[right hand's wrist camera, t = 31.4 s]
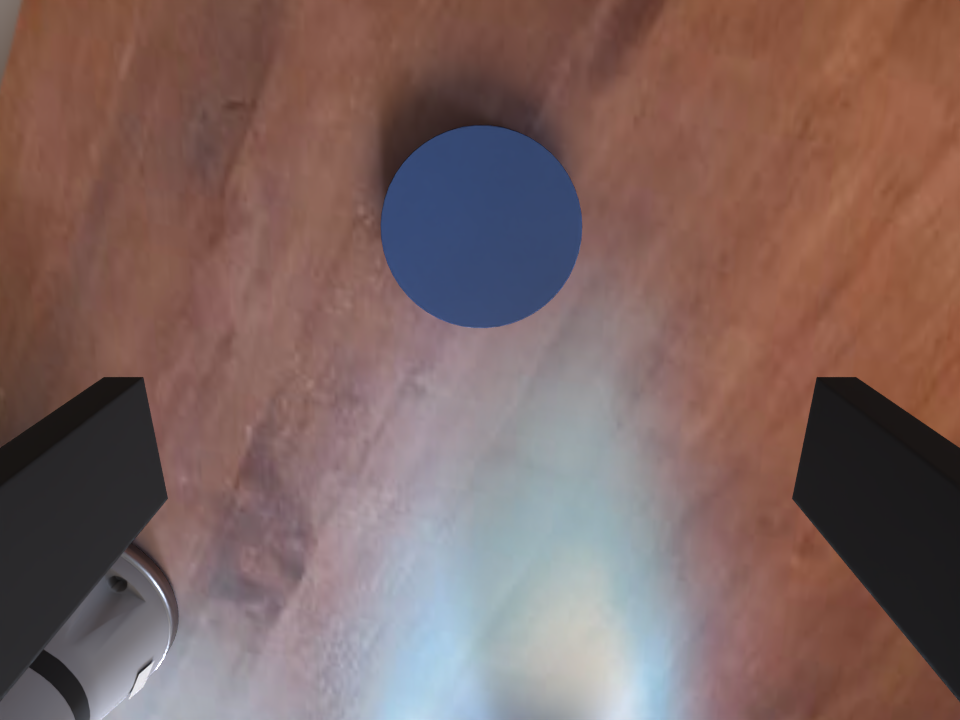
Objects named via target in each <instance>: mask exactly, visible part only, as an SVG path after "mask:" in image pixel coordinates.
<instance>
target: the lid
mask: <svg viewBox="0 0 960 720" xmlns="http://www.w3.org/2000/svg"><path fill="white" fill-rule="evenodd" d="M581 237H582V216H581V209H580V204H579V199H578V197H577V194H576V191H575V188H574V186H573V184H572V182H571V180H570V178H569V176H568V174H567V172H566V171H565V169H564V168H563V167H562V165H561V164H560V163H559V161H558V160H557V159H556V158H555V157H554V156H553V155H552V154H551V153H550V152H549V151H548V150H547V149H546V148H544V147H543V146H542V145H541V144H539V143H538V142H536V141H534V140H533V139H531V138H530V137H528V136H526V135H523V134H521V133H519V132H517V131H514V130H510V129H507V128H504V127H499V126H492V125H471V126H464V127H460V128H456V129H452V130H449V131H446V132H444V133H442V134H440V135H437V136H435V137H433V138H432V139H430V140H429V141H427V142H425V143H424V144H422V145H421V146H420V147H419V148H417V149H416V150H415V151H414V152H413V153H412V154H411V155H410V156H409V157H408V158H407V159H406V160H405V161H404V162H403V164H402V165H401V167H400V168H399V169H398V171H397V172H396V174H395V176H394V178H393V179H392V181H391V183H390V185H389V188H388V191H387V193H386V196H385V199H384V204H383V208H382V215H381V239H382V245H383V250H384V254H385V257H386V260H387V263H388V266H389V268H390V270H391V272H392V274H393V276H394V278H395V279H396V281H397V282H398V284H399V286H400V287H401V288H402V289H403V291H404V292H405V293H406V294H407V296H408V297H409V298H410V299H412V300H413V301H414V302H415V303H416V304H417V305H418V306H419V307H421V308H422V309H424V310H425V311H426V312H428V313H429V314H431V315H433V316H435V317H437V318H439V319H441V320H444V321H446V322H448V323H452V324H455V325H459V326H464V327H471V328H491V327H499V326H503V325H507V324H511V323H514V322H517V321H519V320H522V319H524V318H526V317H528V316H530V315H532V314H533V313H535V312H536V311H538V310H539V309H541V308H542V307H543V306H545V305H546V304H547V303H548V302H549V301H550V300H551V299H552V298H553V297H554V296H555V295H556V294H557V293H558V292H559V290H560V289H561V288H562V287H563V285H564V284H565V282H566V281H567V279H568V277H569V276H570V274H571V272H572V269H573V267H574V265H575V262H576V259H577V256H578V253H579V249H580V244H581Z"/></svg>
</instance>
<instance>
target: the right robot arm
mask: <svg viewBox="0 0 960 720" xmlns="http://www.w3.org/2000/svg"><path fill="white" fill-rule="evenodd" d="M167 499H168V497H167V492H166V487H165V482H164V478H163V473H162V468H161V463H160V458H159V453H158V448H157V443H156V438H155V433H154V428H153V423H152V418H151V413H150V408H149V403H148V399H147V394H146V389H145V384H144V379H143V377H104V378H102V379H101V380H99V381H98V382H96V383H95V384H93V385H92V386H90V387H89V388H87V389H86V390H84V391H83V392H82V393H80V394H79V395H77V396H76V397H74V398H73V399H71V400H70V401H68V402H67V403H65V404H64V405H63V406H61V407H60V408H58V409H57V410H55V411H54V412H52V413H51V414H49V415H48V416H46V417H45V418H44V419H42V420H41V421H39V422H38V423H36V424H35V425H33V426H32V427H30V428H29V429H27V430H26V431H25V432H23V433H22V434H20V435H19V436H17V437H16V438H14V439H13V440H11V441H10V442H8V443H7V444H6V445H4V446H3V447H1V448H0V720H101V719H102V718H103V717H104V716H105V715H107V714H108V713H109V712H110V711H111V710H112V709H114V708H115V707H116V706H117V705H118V704H119V703H120V702H121V701H122V700H124V699H125V698H126V697H127V696H128V695H129V694H130V693H131V692H132V693H131V695H130V697H129V699H130V698H131V697H132V696H134V695H135V694H136V693H137V692H138V691H139V690H140V689H141V688H142V687H144V685H145V682H146V680H147V679H148V678H149V677H150V676H151V674H152V673H153V672H154V671H155V670H156V669H157V667H158V666H159V665H160V663H161V662H162V660H163V659H164V657H165V655H166V654H167V652H168V650H169V648H170V647H171V645H172V643H173V641H174V639H175V636H176V632H177V628H178V607H177V603H176V599H175V596H174V593H173V590H172V588H171V586H170V584H169V582H168V581H167V579H166V577H165V576H164V574H163V573H162V572H161V570H160V569H159V568H158V567H157V565H156V564H155V563H154V562H153V561H152V560H151V559H150V558H149V557H148V556H147V555H146V554H145V553H143V552H142V551H141V550H140V549H138V548H137V547H136V546H134V545H133V544H131V543H132V541H133V540H134V539H135V538H136V537H137V535H138V534H139V533H140V532H141V531H142V529H143V528H144V527H145V526H146V524H147V523H148V522H149V521H150V520H151V518H152V517H153V516H154V515H155V514H156V512H157V511H158V510H159V509H160V508H161V506H162V505H163V504H164V503H165V501H166V500H167ZM792 499H793V500H794V501H795V503H796V504H797V505H798V506H799V508H800V509H801V510H802V511H803V512H804V514H805V515H806V516H807V517H808V518H809V520H810V521H811V522H812V523H813V524H814V526H815V527H816V528H817V529H818V531H819V532H820V533H821V534H822V535H823V537H824V538H825V539H826V540H827V541H828V543H829V544H830V545H831V546H832V548H833V549H834V550H835V551H836V552H837V554H838V555H839V556H840V557H841V558H842V560H843V561H844V562H845V563H846V565H847V566H848V567H849V568H850V569H851V571H852V572H853V573H854V574H855V575H856V577H857V578H858V579H859V580H860V581H861V583H862V584H863V585H864V586H865V588H866V589H867V590H868V591H869V592H870V594H871V595H872V596H873V597H874V598H875V600H876V601H877V602H878V603H879V605H880V606H881V607H882V608H883V609H884V611H885V612H886V613H887V614H888V615H889V617H890V618H891V619H892V620H893V622H894V623H895V624H896V625H897V626H898V628H899V629H900V630H901V631H902V632H903V634H904V635H905V636H906V637H907V638H908V640H909V641H910V642H911V643H912V645H913V646H914V647H915V648H916V649H917V651H918V652H919V653H920V654H921V655H922V657H923V658H924V659H925V660H926V662H927V663H928V664H929V665H930V666H931V668H932V669H933V670H934V671H935V672H936V674H937V675H938V676H939V677H940V678H941V680H942V681H943V682H944V683H945V685H946V686H947V687H948V688H949V689H950V691H951V692H952V693H953V694H954V695H955V697H956V698H957V699H958V700H959V702H960V448H959V447H957V446H956V445H954V444H953V443H952V442H950V441H949V440H947V439H946V438H944V437H943V436H941V435H940V434H938V433H937V432H935V431H934V430H933V429H931V428H930V427H928V426H927V425H925V424H924V423H922V422H921V421H919V420H918V419H916V418H915V417H914V416H912V415H911V414H909V413H908V412H906V411H905V410H903V409H902V408H900V407H899V406H897V405H896V404H895V403H893V402H892V401H890V400H889V399H887V398H886V397H884V396H883V395H881V394H880V393H878V392H877V391H876V390H874V389H873V388H871V387H870V386H868V385H867V384H865V383H864V382H862V381H861V380H859V379H858V378H856V377H817V379H816V384H815V389H814V394H813V399H812V403H811V408H810V413H809V418H808V423H807V428H806V433H805V438H804V443H803V448H802V453H801V458H800V463H799V468H798V473H797V478H796V482H795V487H794V492H793V497H792Z"/></svg>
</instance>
